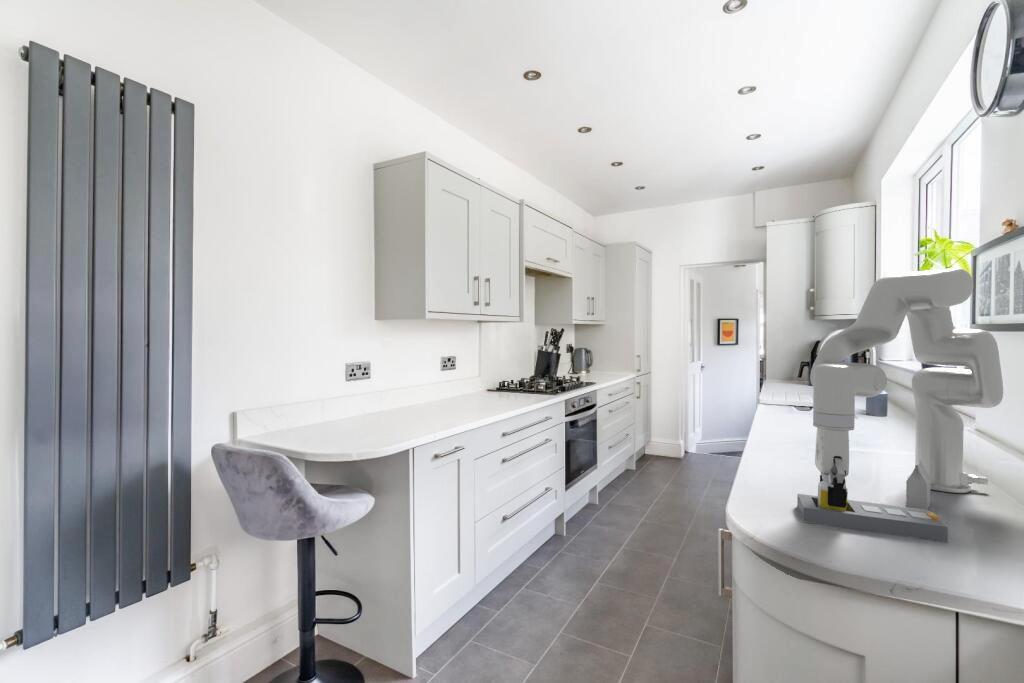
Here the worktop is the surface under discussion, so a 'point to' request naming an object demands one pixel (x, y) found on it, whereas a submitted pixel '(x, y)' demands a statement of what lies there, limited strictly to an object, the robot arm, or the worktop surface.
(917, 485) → the white gable-top box
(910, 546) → the worktop surface
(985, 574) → the worktop surface
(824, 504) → the supplement bottle
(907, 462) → the worktop surface
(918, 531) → the power strip
